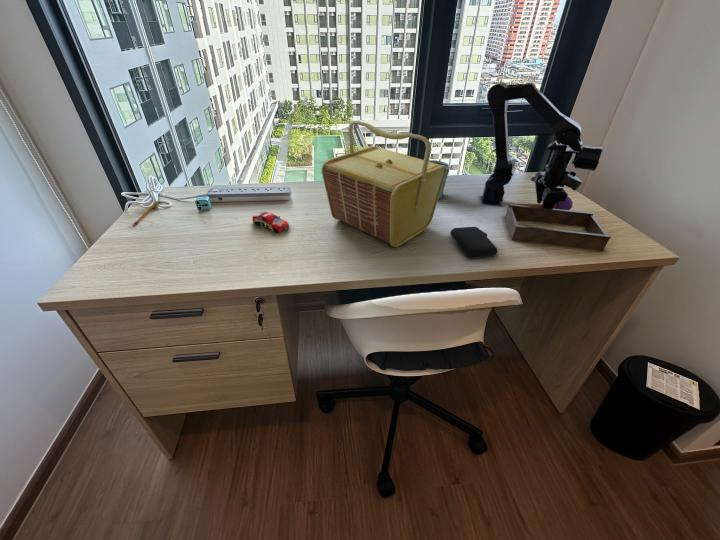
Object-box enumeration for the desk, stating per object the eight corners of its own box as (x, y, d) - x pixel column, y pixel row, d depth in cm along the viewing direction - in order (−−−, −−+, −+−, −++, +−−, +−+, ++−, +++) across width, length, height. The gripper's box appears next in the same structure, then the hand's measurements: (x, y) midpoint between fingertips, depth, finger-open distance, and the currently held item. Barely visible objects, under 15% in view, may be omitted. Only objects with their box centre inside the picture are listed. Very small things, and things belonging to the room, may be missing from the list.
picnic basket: (440, 226, 108) (458, 129, 90) (391, 258, 92) (400, 149, 74) (373, 199, 123) (377, 112, 106) (321, 223, 108) (315, 125, 90)
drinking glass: (412, 192, 129) (416, 162, 122) (433, 188, 133) (438, 158, 126) (428, 202, 122) (433, 171, 115) (450, 197, 126) (456, 166, 119)
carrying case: (502, 258, 93) (479, 232, 105) (505, 249, 91) (481, 223, 103) (466, 261, 92) (447, 234, 103) (469, 252, 90) (449, 225, 102)
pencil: (135, 226, 104) (134, 224, 104) (132, 226, 104) (131, 224, 104) (160, 201, 119) (159, 198, 119) (158, 201, 119) (157, 198, 119)
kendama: (511, 197, 117) (567, 193, 117) (509, 214, 120) (564, 209, 120) (519, 201, 112) (578, 197, 112) (516, 218, 114) (574, 214, 114)
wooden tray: (511, 240, 101) (516, 226, 98) (504, 217, 114) (508, 203, 111) (603, 251, 97) (611, 237, 94) (586, 226, 109) (592, 212, 106)
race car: (292, 229, 105) (291, 217, 102) (280, 236, 101) (279, 224, 99) (263, 217, 110) (261, 206, 108) (250, 224, 107) (248, 213, 104)
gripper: (595, 177, 98) (574, 223, 108) (576, 158, 113) (559, 200, 122) (555, 174, 100) (537, 220, 109) (541, 155, 115) (527, 197, 124)
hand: (541, 208), depth 116 cm, fingers open, 9 cm apart
